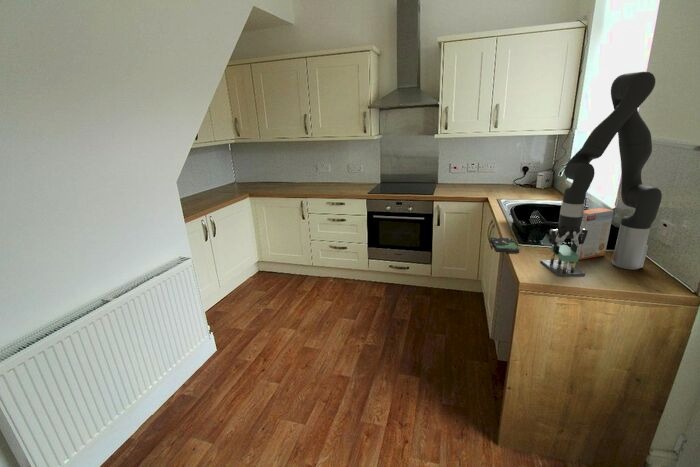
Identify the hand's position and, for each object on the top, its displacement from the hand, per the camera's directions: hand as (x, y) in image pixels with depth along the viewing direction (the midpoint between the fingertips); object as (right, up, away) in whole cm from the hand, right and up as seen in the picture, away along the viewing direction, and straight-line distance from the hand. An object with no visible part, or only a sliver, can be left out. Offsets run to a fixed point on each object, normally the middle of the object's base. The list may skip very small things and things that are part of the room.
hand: (564, 253), depth 137 cm
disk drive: (-12, +1, +28) cm, 30 cm away
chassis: (0, -6, +2) cm, 7 cm away
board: (0, -1, 0) cm, 1 cm away
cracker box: (+19, -2, +14) cm, 23 cm away
